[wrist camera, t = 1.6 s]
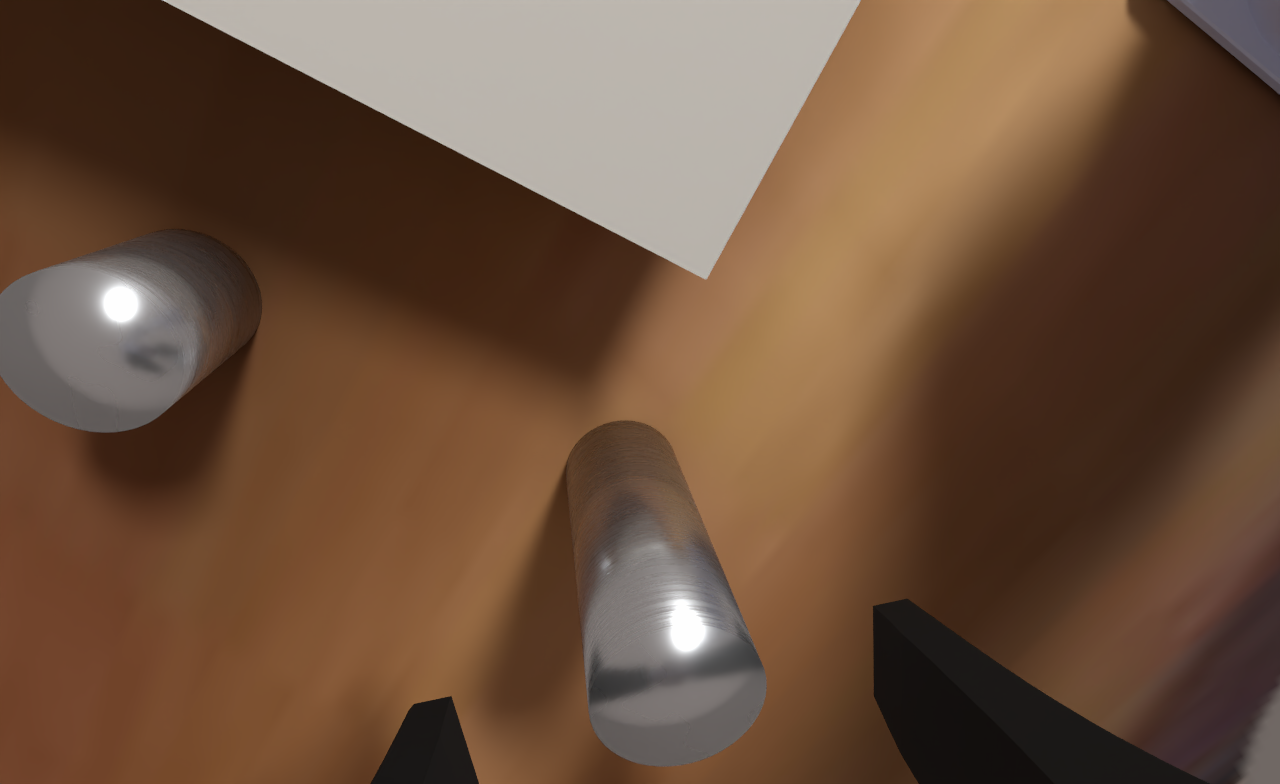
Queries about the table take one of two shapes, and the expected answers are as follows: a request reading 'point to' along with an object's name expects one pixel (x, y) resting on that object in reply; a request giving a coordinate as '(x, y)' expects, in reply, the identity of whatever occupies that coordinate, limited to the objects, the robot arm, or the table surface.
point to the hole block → (576, 93)
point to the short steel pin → (126, 328)
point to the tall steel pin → (654, 605)
